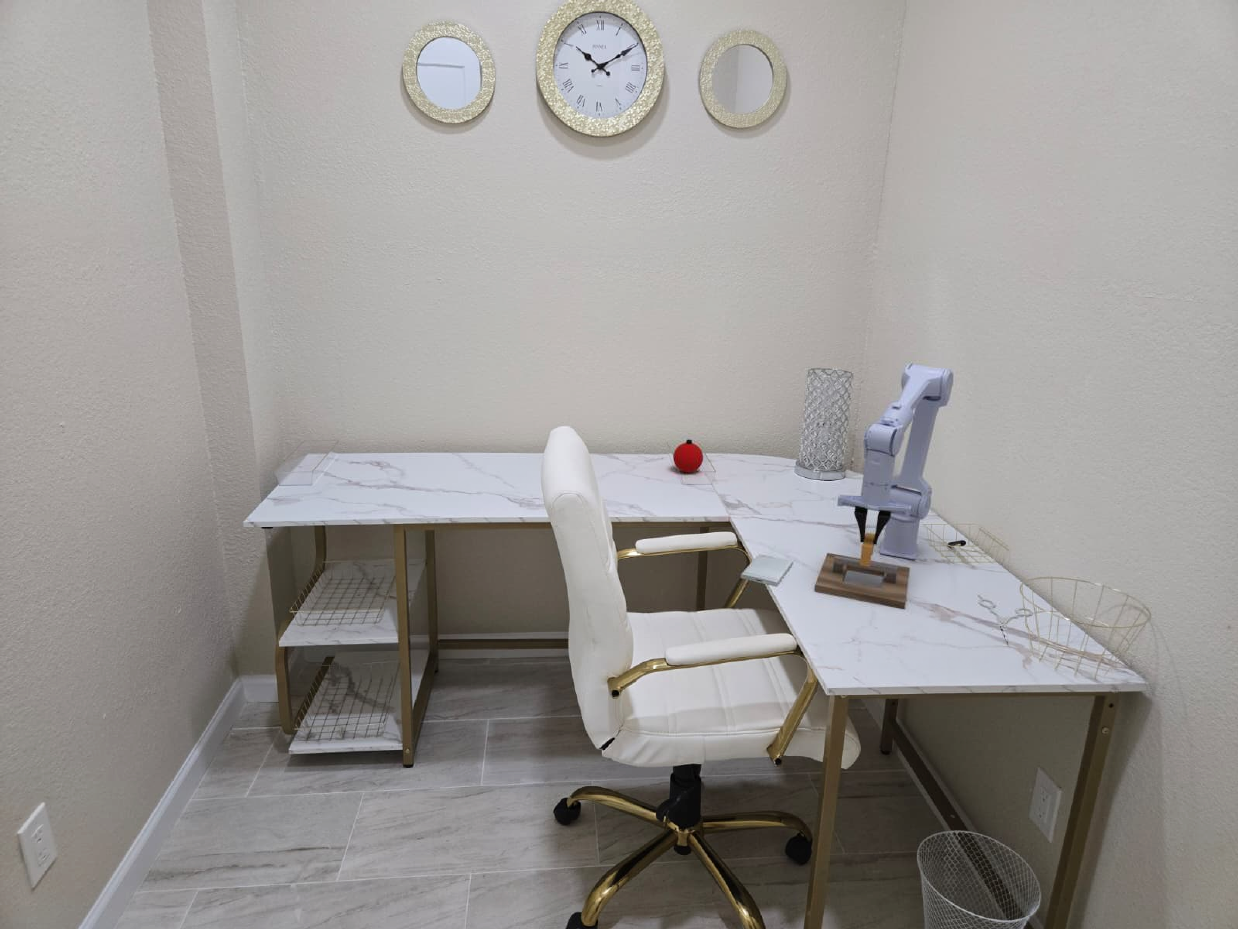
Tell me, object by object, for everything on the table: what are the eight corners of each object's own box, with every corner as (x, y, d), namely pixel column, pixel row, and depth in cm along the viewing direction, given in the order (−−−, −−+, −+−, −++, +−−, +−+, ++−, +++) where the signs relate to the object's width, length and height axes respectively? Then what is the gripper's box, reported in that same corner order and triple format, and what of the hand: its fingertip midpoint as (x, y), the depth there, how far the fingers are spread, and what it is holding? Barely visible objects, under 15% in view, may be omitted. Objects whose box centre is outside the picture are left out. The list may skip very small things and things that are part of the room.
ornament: (694, 478, 234) (696, 445, 231) (667, 472, 238) (669, 440, 235) (707, 470, 242) (709, 438, 238) (680, 465, 246) (682, 434, 243)
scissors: (1033, 606, 162) (1028, 650, 146) (1033, 610, 163) (1027, 653, 146) (977, 594, 167) (966, 634, 151) (977, 597, 168) (965, 638, 151)
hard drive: (758, 553, 182) (740, 573, 171) (793, 560, 178) (777, 581, 168) (757, 560, 182) (740, 580, 172) (792, 567, 179) (777, 588, 168)
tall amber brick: (863, 551, 174) (866, 532, 172) (872, 553, 173) (875, 534, 172) (859, 565, 167) (862, 545, 165) (869, 567, 166) (872, 547, 165)
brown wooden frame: (826, 558, 182) (827, 552, 182) (909, 573, 176) (910, 567, 176) (814, 591, 167) (815, 584, 166) (904, 609, 160) (905, 602, 160)
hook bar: (833, 568, 174) (835, 555, 173) (895, 580, 170) (897, 566, 169) (832, 572, 172) (834, 558, 171) (895, 583, 168) (897, 570, 167)
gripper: (838, 481, 163) (831, 542, 167) (913, 492, 158) (903, 555, 162) (843, 472, 169) (835, 530, 174) (914, 482, 164) (905, 542, 169)
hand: (868, 541), depth 168 cm, fingers closed on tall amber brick, 2 cm apart
